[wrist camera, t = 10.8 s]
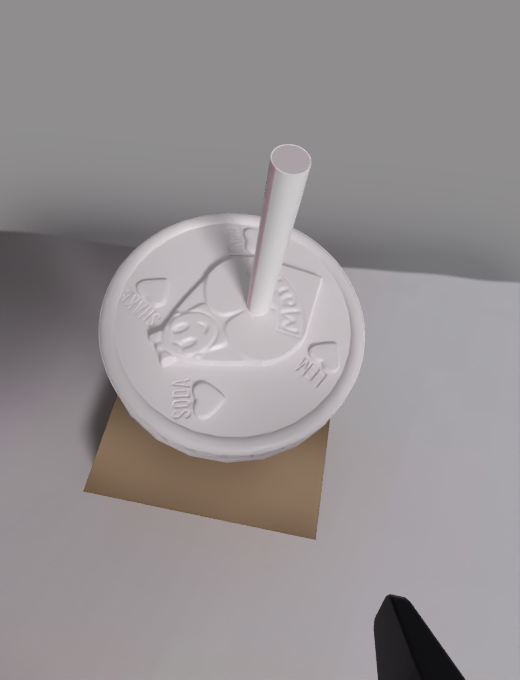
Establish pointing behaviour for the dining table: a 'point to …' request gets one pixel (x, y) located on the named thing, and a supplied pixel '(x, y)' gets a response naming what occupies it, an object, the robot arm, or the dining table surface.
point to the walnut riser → (211, 479)
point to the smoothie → (234, 328)
